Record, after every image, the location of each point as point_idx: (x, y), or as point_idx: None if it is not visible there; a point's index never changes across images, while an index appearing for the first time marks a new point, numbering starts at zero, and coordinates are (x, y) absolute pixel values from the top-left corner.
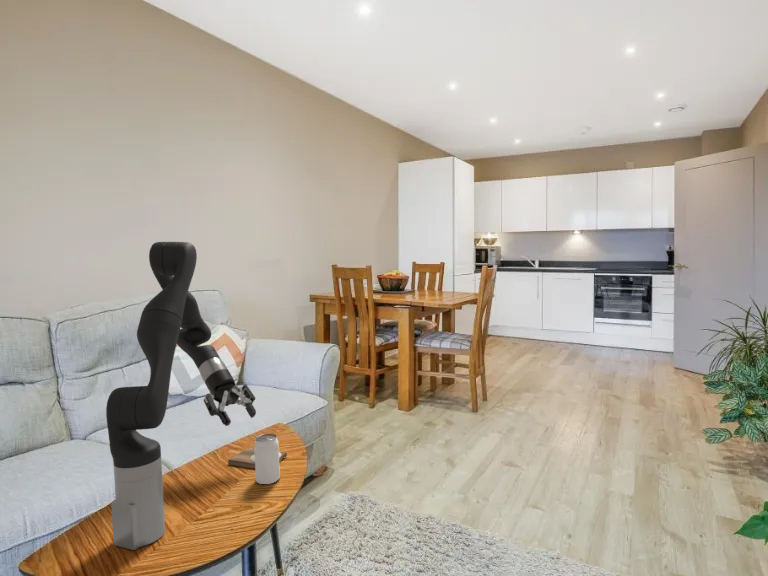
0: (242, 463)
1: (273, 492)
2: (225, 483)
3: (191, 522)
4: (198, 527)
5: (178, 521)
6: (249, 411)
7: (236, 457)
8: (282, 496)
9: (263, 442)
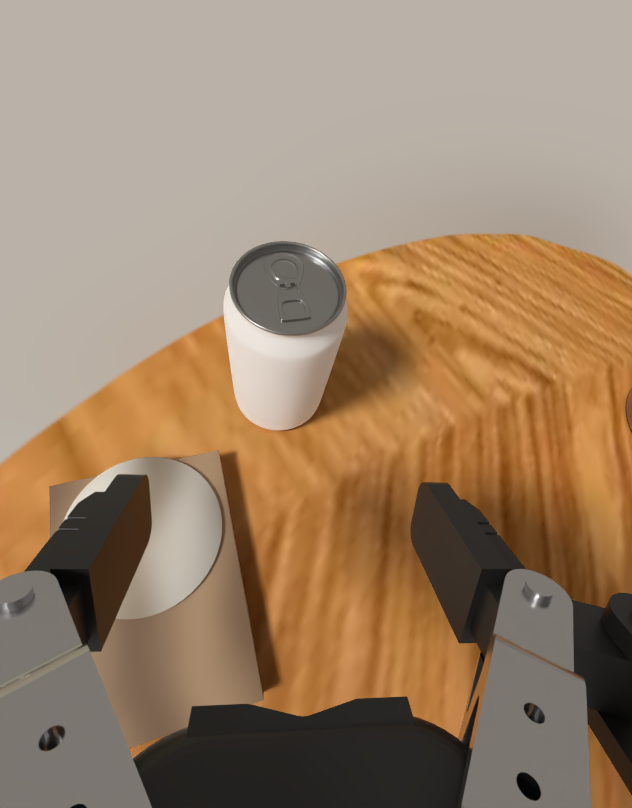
0: (244, 592)
1: None
2: (386, 507)
3: (561, 382)
4: (554, 348)
5: (587, 415)
6: (128, 554)
7: (220, 682)
8: None
9: (332, 269)
